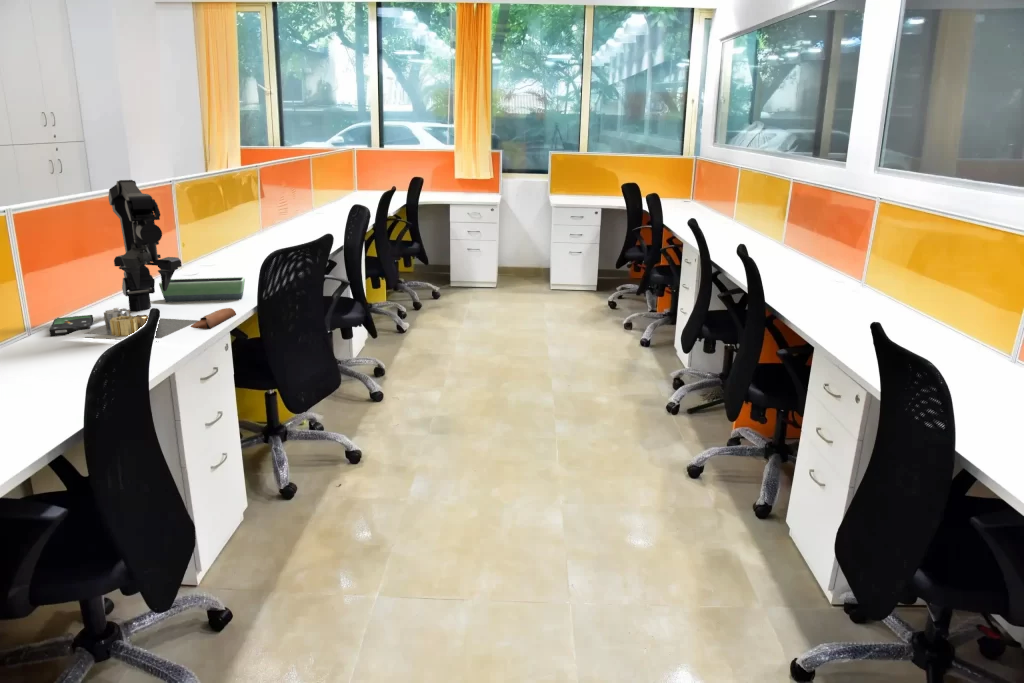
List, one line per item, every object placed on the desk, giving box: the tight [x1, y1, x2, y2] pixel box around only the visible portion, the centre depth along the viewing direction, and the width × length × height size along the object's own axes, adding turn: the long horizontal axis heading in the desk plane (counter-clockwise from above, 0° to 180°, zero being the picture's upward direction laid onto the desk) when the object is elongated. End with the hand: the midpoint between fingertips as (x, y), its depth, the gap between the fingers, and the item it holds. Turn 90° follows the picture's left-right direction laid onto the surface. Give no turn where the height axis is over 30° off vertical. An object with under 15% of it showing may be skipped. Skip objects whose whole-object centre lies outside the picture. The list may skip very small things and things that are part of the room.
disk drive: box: [48, 314, 95, 337], centre depth 218 cm, size 10×3×15 cm
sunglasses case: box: [189, 307, 237, 330], centre depth 224 cm, size 18×7×7 cm
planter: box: [158, 276, 246, 303], centre depth 256 cm, size 28×7×7 cm, turn 103°
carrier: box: [84, 307, 199, 343], centre depth 216 cm, size 20×24×6 cm
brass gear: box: [110, 314, 138, 337], centre depth 209 cm, size 7×7×4 cm
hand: (151, 290), depth 218 cm, fingers open, 9 cm apart
